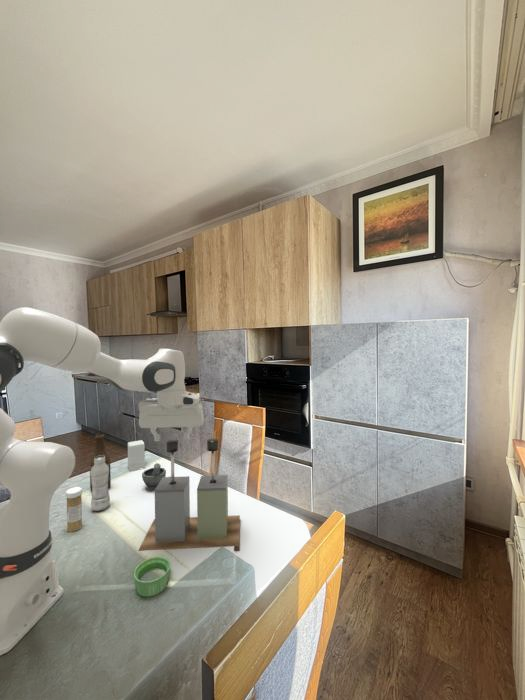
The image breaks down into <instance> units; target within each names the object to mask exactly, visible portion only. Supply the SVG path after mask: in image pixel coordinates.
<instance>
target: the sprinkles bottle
mask: <svg viewBox="0 0 525 700" xmlns="http://www.w3.org/2000/svg"><path fill="white" fill-rule="evenodd" d="M82 489H83V488H82V487H80V486H74V487H71V488H69V489H67V490H66V491H65V497H66V498H65V499H66V525H67V526H66V531H67V532H69V533H72V532H76V531H79V530H80V529H81V528H82V527H83V519H82V518H83V509H82V508H83V505H82V504H83V502H82V495H83V494H82V493H83V490H82Z"/></svg>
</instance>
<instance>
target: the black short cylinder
mask: <svg viewBox="0 0 525 700" xmlns="http://www.w3.org/2000/svg"><path fill="white" fill-rule="evenodd" d="M178 451H179V439H169V440H167V441H166V452H167V453H170V475H171V476H170V477H171V485H172V484H174V477H175V452H178Z"/></svg>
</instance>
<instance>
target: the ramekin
mask: <svg viewBox="0 0 525 700" xmlns="http://www.w3.org/2000/svg"><path fill="white" fill-rule="evenodd" d="M156 569H157V570H163V571H164V572H165V573H164V574H163V575H161V576H160V577H158V578H156V579H152V580H147V581H146V580H145V581H144V580H140V578H141V577H142V576H143V575H144V574H146V573H147V572H148V571H152V570H156ZM170 570H171V562H170V560H169V559H168V558H167V557H164V556H161V555H159V556H157V555H156V556H152V557H148V558H146V559H144V560H142V561H141V562H140V563H139V564H137V566H135V568H134V571H133V578H134V583H135V590H136V592H137V594H138V596H139V595H140V596H141V597H147V598H148V597H154V596H155V595H158V594H160V593H161V592H163V591H164V590H165V589H166V588H167V586H168V583H169V576H170Z"/></svg>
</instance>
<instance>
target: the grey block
mask: <svg viewBox="0 0 525 700" xmlns="http://www.w3.org/2000/svg"><path fill="white" fill-rule="evenodd" d="M190 493H191V492H190V476H174V484H172V485H171V476H165V477H162V479H161V481H160V482H159V484H158V486H157V487H156V489H155V491H154V519H155V542H170V541H185V538H186V535H187V531H188V528H189V525H190V517H191V510H190V509H191V508H190V506H191V505H190V504H191V501H190Z"/></svg>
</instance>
